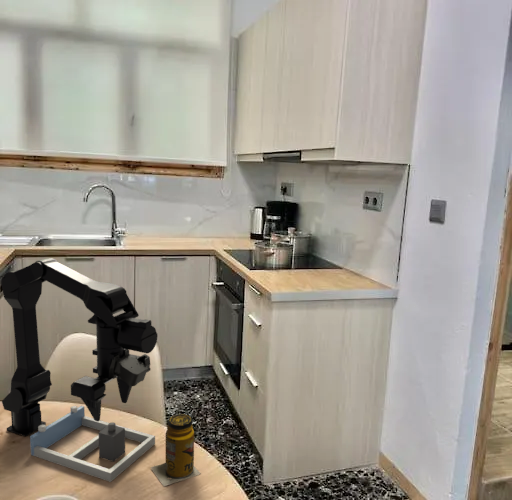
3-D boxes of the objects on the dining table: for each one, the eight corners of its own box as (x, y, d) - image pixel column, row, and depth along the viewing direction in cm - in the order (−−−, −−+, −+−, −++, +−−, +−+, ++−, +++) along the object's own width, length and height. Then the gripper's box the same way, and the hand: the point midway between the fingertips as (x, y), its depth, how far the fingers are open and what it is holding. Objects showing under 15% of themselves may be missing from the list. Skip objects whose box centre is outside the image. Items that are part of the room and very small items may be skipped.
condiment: (200, 474, 108) (201, 422, 106) (163, 487, 103) (164, 433, 101) (186, 457, 114) (186, 407, 112) (150, 468, 109) (150, 417, 107)
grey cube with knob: (99, 457, 113) (98, 426, 112) (110, 448, 117) (110, 418, 115) (113, 461, 111) (113, 430, 110) (125, 452, 115) (124, 422, 114)
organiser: (29, 454, 113) (28, 431, 112) (80, 422, 127) (80, 401, 127) (110, 481, 104) (110, 457, 103) (155, 443, 119) (155, 422, 118)
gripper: (112, 366, 98) (113, 440, 101) (165, 337, 115) (165, 401, 118) (67, 356, 102) (69, 427, 105) (125, 329, 119) (126, 391, 122)
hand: (111, 411), depth 112 cm, fingers open, 9 cm apart
